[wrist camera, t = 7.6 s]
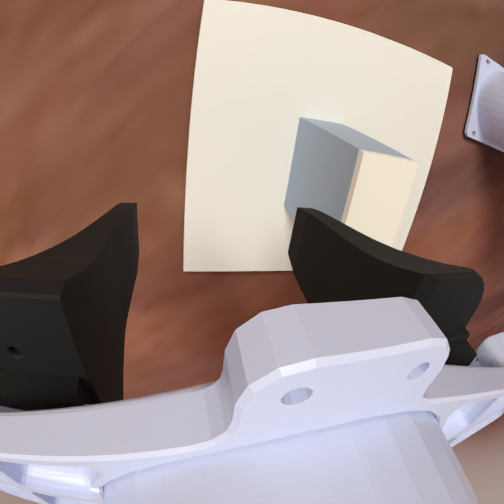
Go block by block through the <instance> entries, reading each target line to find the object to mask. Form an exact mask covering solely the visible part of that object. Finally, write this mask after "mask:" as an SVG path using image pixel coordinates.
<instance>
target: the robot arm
mask: <svg viewBox="0 0 504 504" xmlns="http://www.w3.org/2000/svg"><path fill="white" fill-rule="evenodd" d="M464 132H465V135H466V136H467V137H469V138H472V139H474V140H477V141H479V142H482V143H484V144H486V145H489V146H491V147H493V148H495V149H498V150H500V151H502V152H504V68H503V67H501V66H500V65H499V64H497V63H496V62H494V61H493V60H492V59H490V58H489V57H487V56H486V55H484V54H480V55H479V58H478V65H477V72H476V78H475V83H474V89H473V94H472V99H471V104H470V109H469V113H468V118H467V122H466V126H465V131H464ZM472 132H473V133H472ZM288 256H289V259H290V263H291V266H292V269H293V272H294V275H295V277H296V279H297V281H298V283H299V286H300V288H301V290H302V292H303V294H304V296H305V298H306V300H307V302H308V304H293V305H288V306H284V307H280V308H276V309H271V310H267V311H263V312H261V313H259V314H258V315H256V316H255V317H253V318H252V319H250V320H249V321H247V322H246V323H244V324H243V325H241V326H240V327H239V328H237V329H236V330H235V331H234V333H233V335H232V337H231V339H230V341H229V343H228V345H227V347H226V349H225V354H224V363H223V371H222V374H221V377H220V379H218V380H217V381H214V382H209V383H205V384H201V385H197V386H192V387H188V388H183V389H179V390H174V391H169V392H164V393H159V394H154V395H149V396H143V397H138V398H132V399H126V400H123V364H124V342H125V329H126V322H127V317H128V312H129V307H130V302H131V298H132V293H133V289H134V284H135V280H136V276H137V268H138V258H139V242H138V223H137V203H120V204H118V205H116V206H115V207H113V208H112V209H111V210H109V211H108V212H107V213H105V214H104V215H103V216H101V217H100V218H99V219H98V220H96V221H95V222H93V223H92V224H91V225H89V226H88V227H86V228H85V229H83V230H82V231H80V232H79V233H77V234H76V235H74V236H73V237H71V238H69V239H67V240H66V241H64V242H62V243H60V244H58V245H56V246H54V247H52V248H50V249H47V250H45V251H43V252H41V253H39V254H36V255H34V256H31V257H29V258H26V259H23V260H20V261H17V262H14V263H11V264H8V265H4V266H0V490H1V491H4V492H7V493H9V494H12V495H15V496H18V497H21V498H24V499H27V500H30V501H34V502H37V503H40V504H479V503H478V500H477V498H476V496H475V494H474V492H473V490H472V488H471V486H470V484H469V482H468V480H467V477H466V475H465V473H464V471H463V469H462V467H461V465H460V464H459V462H458V460H457V458H456V456H455V454H454V452H453V450H452V448H451V447H453V446H454V445H456V444H458V443H459V442H461V441H463V440H464V439H466V438H468V437H469V436H471V435H472V434H474V433H475V432H477V431H478V430H480V429H482V428H483V427H485V426H486V425H488V424H489V423H491V422H492V421H494V420H495V419H497V418H498V417H499V416H501V415H502V414H503V413H504V332H501V333H498V334H496V335H493V336H490V337H488V338H486V339H485V340H484V341H483V342H482V343H481V344H480V346H479V347H478V349H477V350H476V352H475V351H474V350H473V348H472V347H471V346H470V344H469V343H468V342H467V340H466V339H468V337H469V336H470V334H469V332H468V331H467V329H466V328H465V327H466V325H467V323H468V322H469V320H470V319H471V317H472V315H473V314H474V312H475V310H476V309H477V307H478V305H479V303H480V301H481V299H482V295H483V292H484V282H483V279H482V277H481V276H480V275H479V274H478V273H477V272H476V271H475V270H473V269H470V268H465V267H460V266H454V265H449V264H444V263H440V262H436V261H432V260H428V259H424V258H421V257H418V256H415V255H412V254H409V253H406V252H403V251H400V250H398V249H395V248H393V247H390V246H388V245H386V244H383V243H381V242H379V241H376V240H374V239H372V238H370V237H368V236H366V235H364V234H362V233H360V232H359V231H357V230H355V229H353V228H351V227H349V226H347V225H346V224H344V223H342V222H340V221H338V220H337V219H335V218H333V217H331V216H329V215H327V214H325V213H323V212H321V211H319V210H316V209H313V208H302V207H297V211H296V216H295V221H294V225H293V230H292V235H291V240H290V244H289V249H288Z"/></svg>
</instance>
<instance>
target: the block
mask: <svg viewBox="0 0 504 504" xmlns="http://www.w3.org/2000/svg"><path fill="white" fill-rule="evenodd" d="M418 164H419V163H417V162H416V161H414V160H412V159H410V158H409V157H407V156H405V155H403V154H401V153H400V152H398V151H396V150H394V149H392V148H390V147H388V146H386V145H385V144H383V143H381V142H379V141H377V140H375V139H373V138H371V137H369V136H367V135H365V134H363V133H361V132H359V131H357V130H354V129H352V128H350V127H348V126H346V125H344V124H339V123H334V122H328V121H323V120H317V119H310V118H304V117H300V118H299V124H298V130H297V136H296V141H295V147H294V153H293V158H292V164H291V169H290V175H289V180H288V186H287V191H286V197H285V202H284V206H285V208H286V209H287V211H288V212H289V214H290V215H291V217H292V218H293V220H294V221H295V216H296V211H297V207H302V208H313V209H316V210H319V211H321V212H323V213H325V214H327V215H329V216H331V217H333V218H335V219H337V220H338V221H340V222H342V223H344V224H346V225H347V226H349V227H351V228H353V229H355V230H357V231H359V232H360V233H362V234H364V235H366V236H368V237H370V238H372V239H374V240H376V241H379V242H381V243H383V244H386V245H388V246H390V247H391V246H392V244H393V241H394V238H395V236H396V233H397V230H398V227H399V224H400V221H401V218H402V215H403V212H404V209H405V206H406V203H407V200H408V197H409V194H410V191H411V187H412V184H413V181H414V177H415V174H416V171H417V167H418Z"/></svg>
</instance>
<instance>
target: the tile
mask: <svg viewBox="0 0 504 504" xmlns="http://www.w3.org/2000/svg"><path fill="white" fill-rule="evenodd" d="M452 69H453V68H452V67H450V66H448V65H446V64H444V63H442V62H440V61H438V60H436V59H434V58H431V57H429V56H427V55H425V54H423V53H421V52H418V51H416V50H414V49H412V48H409V47H407V46H404V45H402V44H400V43H397V42H395V41H392V40H389V39H387V38H384V37H382V36H379V35H376V34H373V33H370V32H367V31H365V30H362V29H359V28H355V27H352V26H349V25H346V24H343V23H339V22H336V21H332V20H328V19H325V18H321V17H317V16H313V15H309V14H305V13H300V12H296V11H291V10H286V9H281V8H276V7H270V6H264V5H258V4H251V3H244V2H236V1H227V0H204V4H203V10H202V17H201V24H200V32H199V39H198V47H197V55H196V64H195V72H194V82H193V92H192V102H191V113H190V125H189V138H188V153H187V169H186V188H185V212H184V249H183V271H293V269H292V266H291V263H290V259H289V256H288V249H289V244H290V240H291V235H292V230H293V225H294V220H293V218H292V217H291V215H290V214H289V212H288V211H287V209H286V208H285V206H284V202H285V197H286V191H287V186H288V180H289V175H290V169H291V164H292V158H293V153H294V147H295V141H296V136H297V130H298V124H299V118H300V117H304V118H310V119H317V120H323V121H328V122H334V123H339V124H344V125H346V126H348V127H350V128H352V129H354V130H357V131H359V132H361V133H363V134H365V135H367V136H369V137H371V138H373V139H375V140H377V141H379V142H381V143H383V144H385V145H386V146H388V147H390V148H392V149H394V150H396V151H398V152H400V153H401V154H403V155H405V156H407V157H409V158H410V159H412V160H414V161H416V162H417V163H419V164H418V167H417V171H416V174H415V177H414V181H413V184H412V187H411V191H410V194H409V197H408V200H407V203H406V206H405V209H404V212H403V215H402V218H401V221H400V224H399V227H398V230H397V233H396V236H395V238H394V241H393V244H392V246H391V247H393V248H395V249H398V250H400V251H402V249H403V246H404V243H405V241H406V238H407V235H408V233H409V230H410V227H411V224H412V222H413V219H414V216H415V213H416V210H417V207H418V204H419V201H420V198H421V195H422V192H423V189H424V186H425V182H426V179H427V176H428V172H429V169H430V166H431V162H432V158H433V155H434V151H435V147H436V144H437V140H438V136H439V132H440V128H441V124H442V119H443V115H444V110H445V106H446V101H447V96H448V91H449V86H450V81H451V75H452Z"/></svg>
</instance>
